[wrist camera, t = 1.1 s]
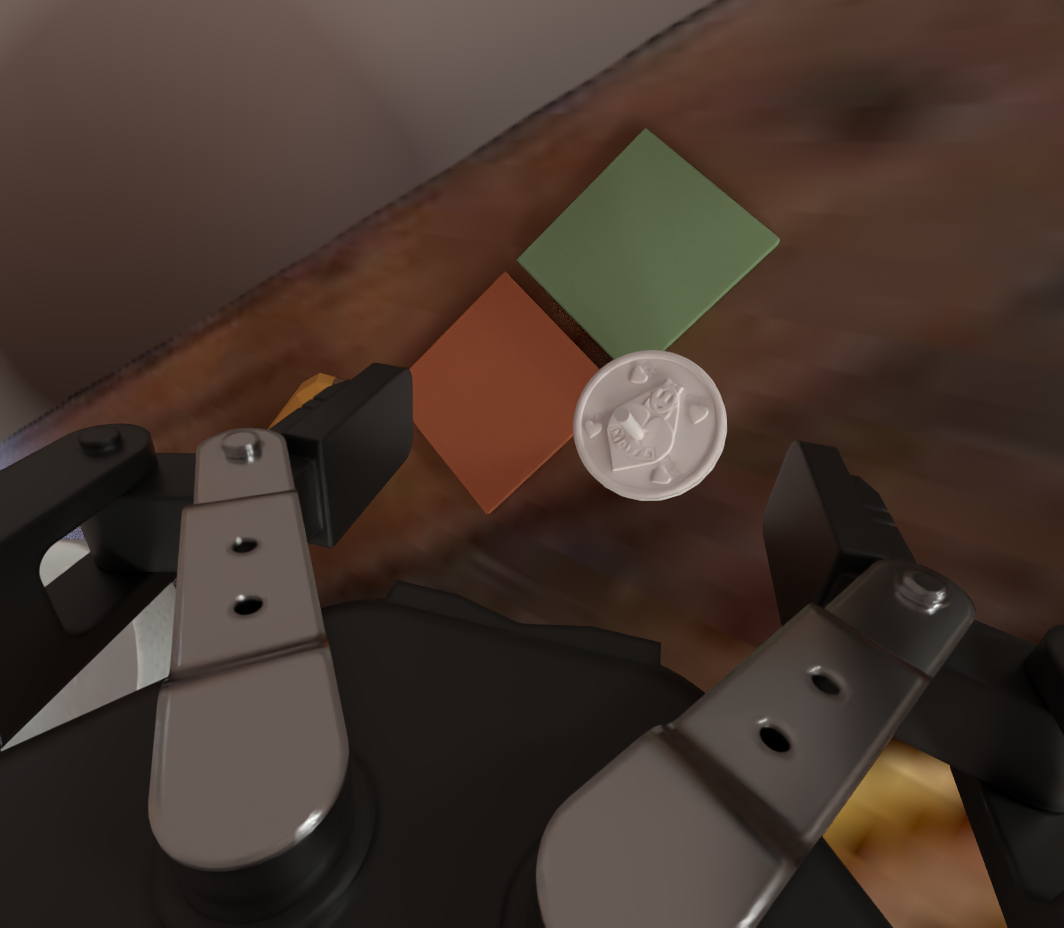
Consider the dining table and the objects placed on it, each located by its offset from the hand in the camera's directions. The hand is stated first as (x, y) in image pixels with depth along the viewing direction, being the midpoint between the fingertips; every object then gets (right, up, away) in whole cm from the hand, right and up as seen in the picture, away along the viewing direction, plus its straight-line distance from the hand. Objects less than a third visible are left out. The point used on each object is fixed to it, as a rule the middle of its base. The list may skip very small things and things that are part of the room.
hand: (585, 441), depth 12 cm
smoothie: (+7, 0, +21) cm, 22 cm away
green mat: (+5, +12, +23) cm, 26 cm away
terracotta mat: (-3, +4, +24) cm, 25 cm away
